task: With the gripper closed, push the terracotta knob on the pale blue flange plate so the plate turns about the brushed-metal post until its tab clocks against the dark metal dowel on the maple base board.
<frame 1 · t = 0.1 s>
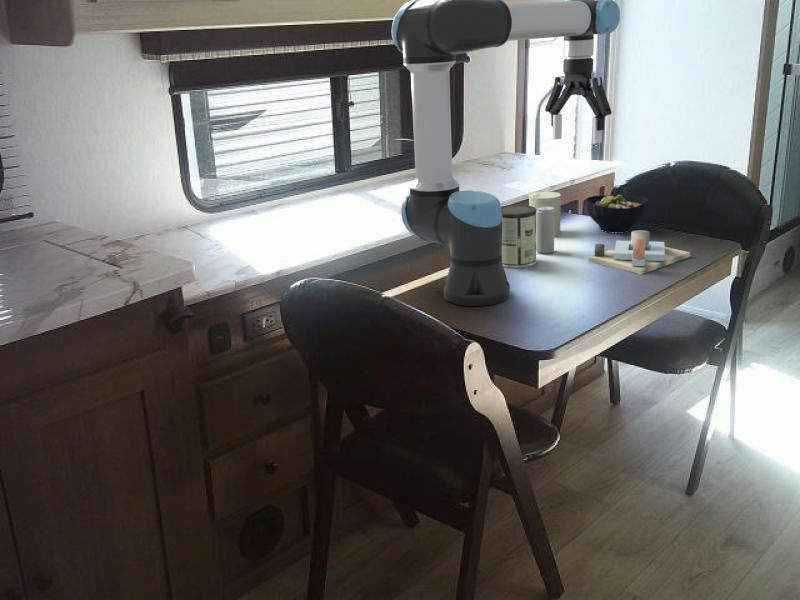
hand: (576, 141, 211), 28 cm above the table, fingers open, 13 cm apart
bowl: (615, 230, 232), on the table
flange plate: (639, 243, 199), point 5 cm above the table, hinge at 30.0°
coffee can: (516, 263, 206), on the table
post base: (639, 259, 203), on the table
can: (544, 234, 231), on the table
beverage can: (544, 252, 214), on the table
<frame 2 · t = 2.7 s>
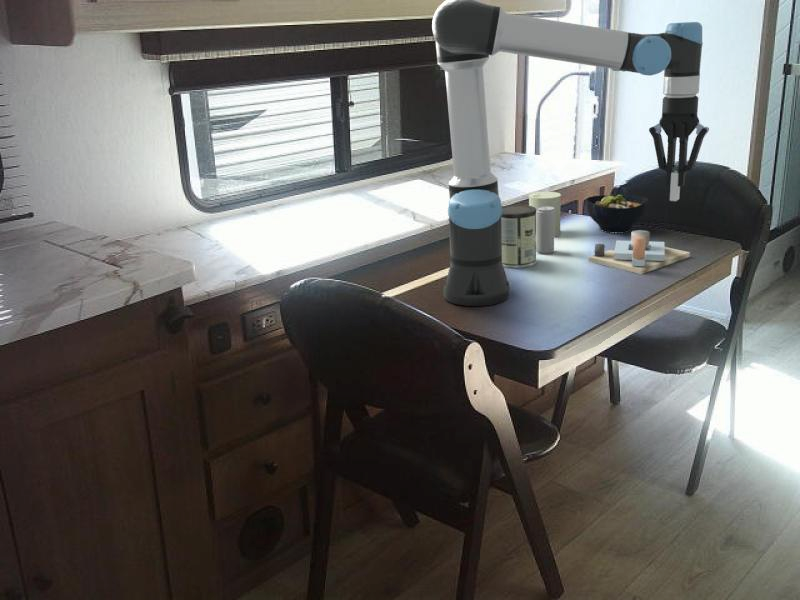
hand: (674, 199, 185), 18 cm above the table, fingers closed
nothing on the table moved.
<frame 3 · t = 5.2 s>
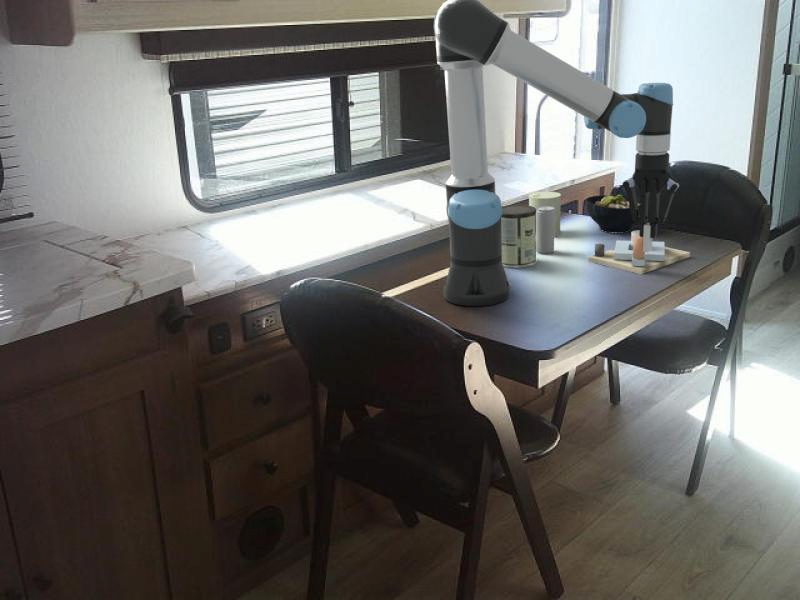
hand: (647, 250, 192), 5 cm above the table, fingers closed
flange plate: (639, 243, 199), point 5 cm above the table, hinge at 29.9°, touching gripper
everything else where it was.
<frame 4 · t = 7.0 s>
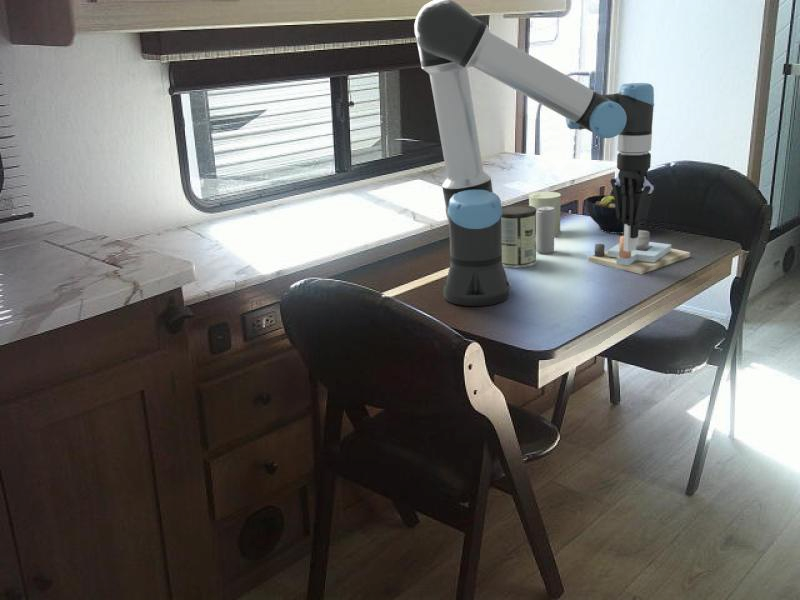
hand: (629, 250, 192), 5 cm above the table, fingers closed
flange plate: (636, 243, 200), point 5 cm above the table, hinge at 10.2°, touching gripper
everything else where it was.
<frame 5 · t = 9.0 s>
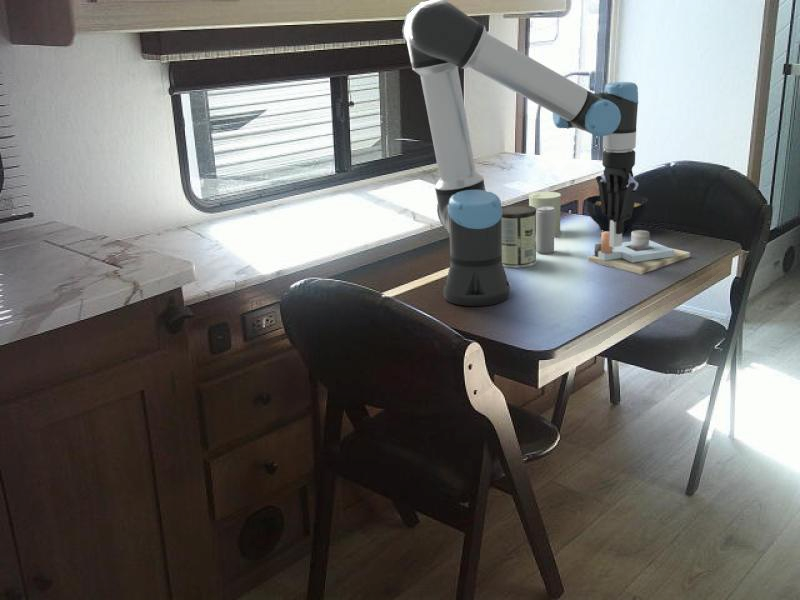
hand: (615, 245, 196), 5 cm above the table, fingers closed
flange plate: (631, 242, 201), point 5 cm above the table, hinge at -25.5°
everything else where it was.
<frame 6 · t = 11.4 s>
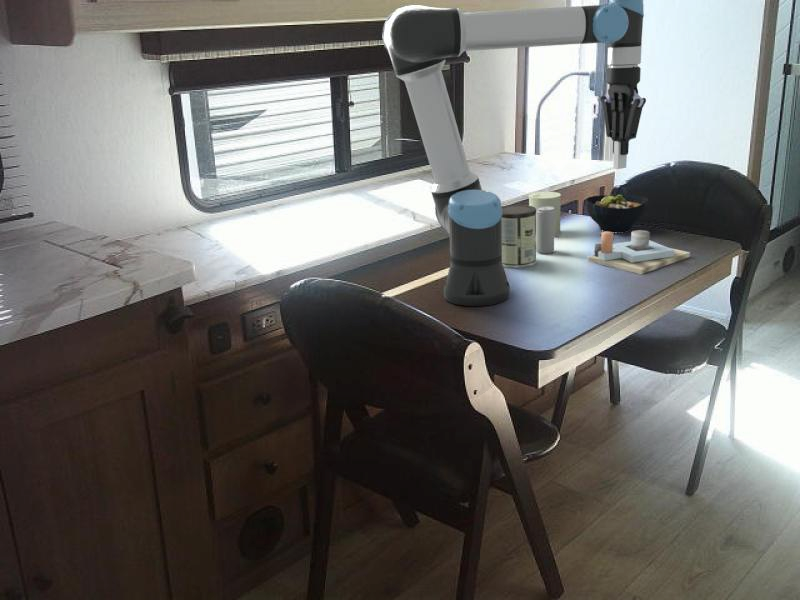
hand: (619, 167, 191), 24 cm above the table, fingers closed
nothing on the table moved.
at the end: flange plate at -26° (first picture: +30°) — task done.
